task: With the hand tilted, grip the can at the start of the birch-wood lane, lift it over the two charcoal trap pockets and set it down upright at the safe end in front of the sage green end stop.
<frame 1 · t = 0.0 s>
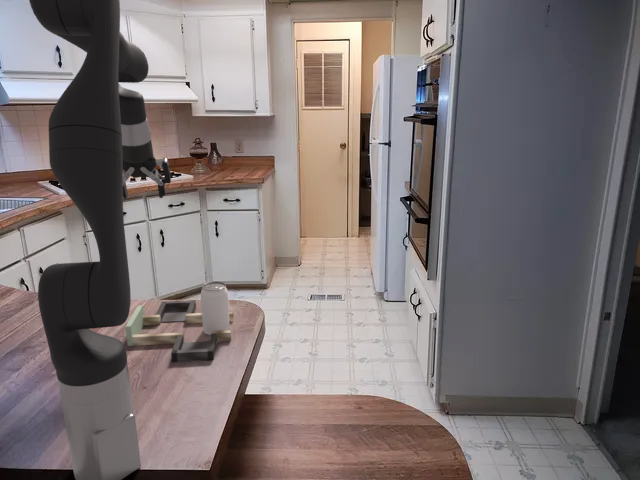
hand: (143, 196, 115), 31 cm above the counter, tool tilted 20°, fingers open, 8 cm apart
can: (216, 331, 114), on the counter
lane: (187, 331, 113), on the counter
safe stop: (156, 333, 112), on the counter
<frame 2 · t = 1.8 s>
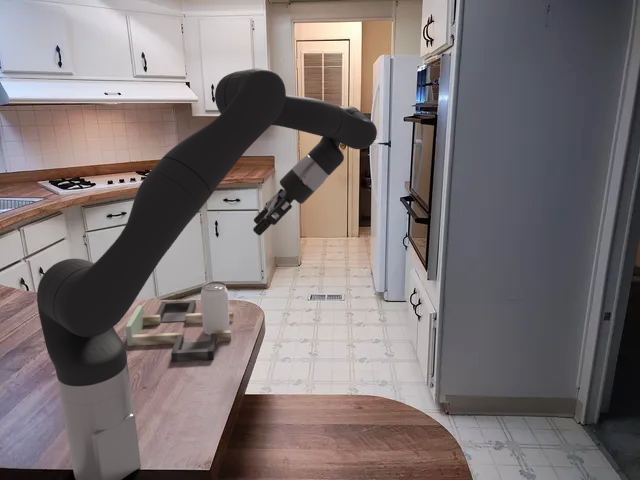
hand: (256, 227, 107), 26 cm above the counter, tool tilted 45°, fingers open, 8 cm apart
nothing on the counter moved.
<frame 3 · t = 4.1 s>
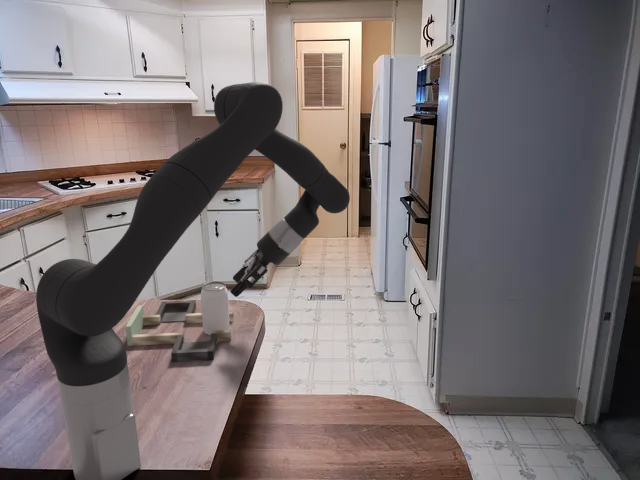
hand: (234, 287, 111), 11 cm above the counter, tool tilted 45°, fingers open, 8 cm apart
nothing on the counter moved.
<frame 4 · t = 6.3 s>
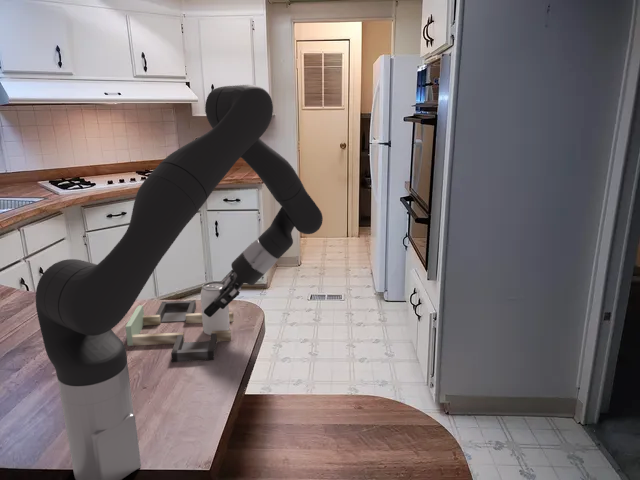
hand: (208, 307, 112), 6 cm above the counter, tool tilted 45°, fingers closed on can, 6 cm apart
can: (216, 330, 114), on the counter, touching gripper
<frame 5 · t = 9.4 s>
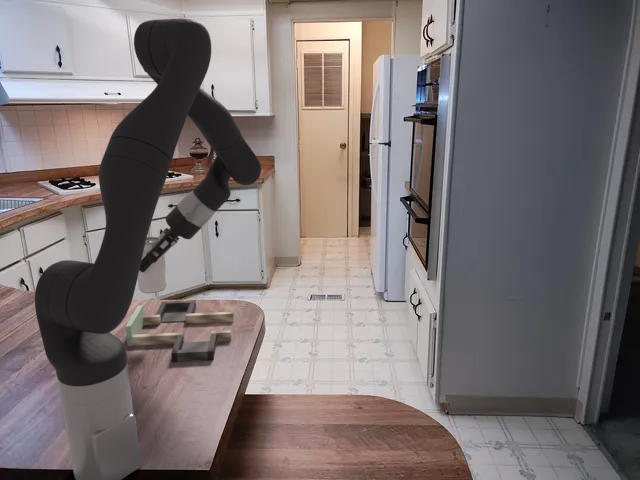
hand: (143, 264, 106), 18 cm above the counter, tool tilted 45°, fingers closed on can, 6 cm apart
can: (153, 289, 108), point 12 cm above the counter, touching gripper
when the fingers open (7 cm above the counter, at t = 12.6 s): can moves 1 cm, on the counter.
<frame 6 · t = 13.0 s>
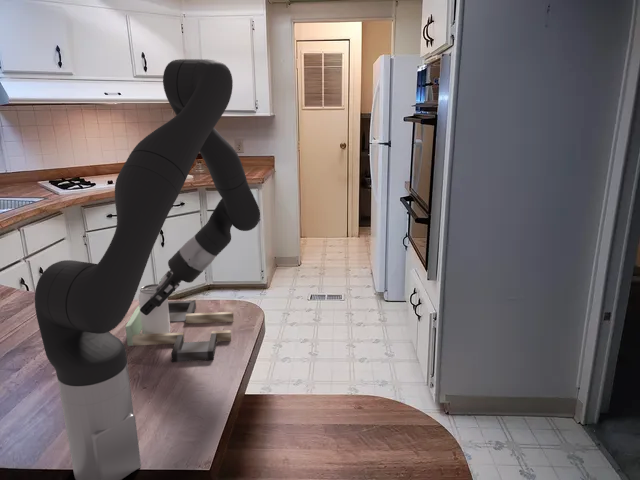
hand: (147, 304, 109), 8 cm above the counter, tool tilted 45°, fingers open, 8 cm apart
can: (156, 334, 112), on the counter
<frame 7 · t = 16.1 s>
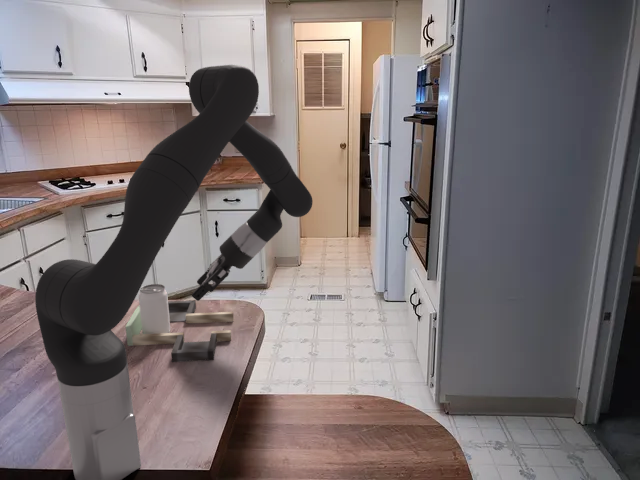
hand: (197, 291, 110), 11 cm above the counter, tool tilted 45°, fingers open, 8 cm apart
nothing on the counter moved.
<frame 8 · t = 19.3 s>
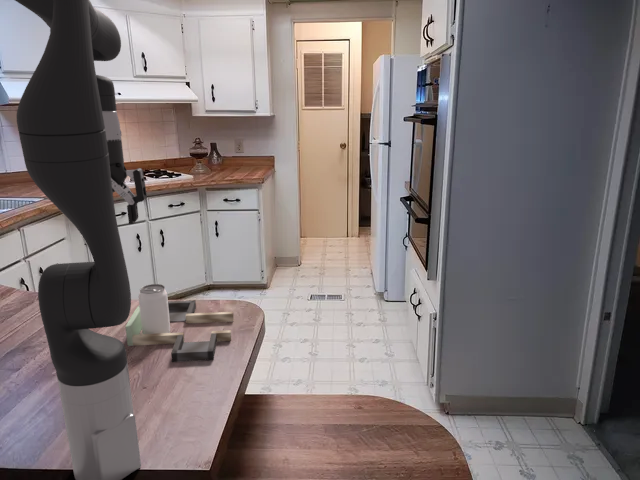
hand: (109, 223, 87), 32 cm above the counter, tool pointing down, fingers open, 8 cm apart
nothing on the counter moved.
at the end: can 0.4 cm from the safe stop (horizontally); can tilted 0°; the gripper is holding nothing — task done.
